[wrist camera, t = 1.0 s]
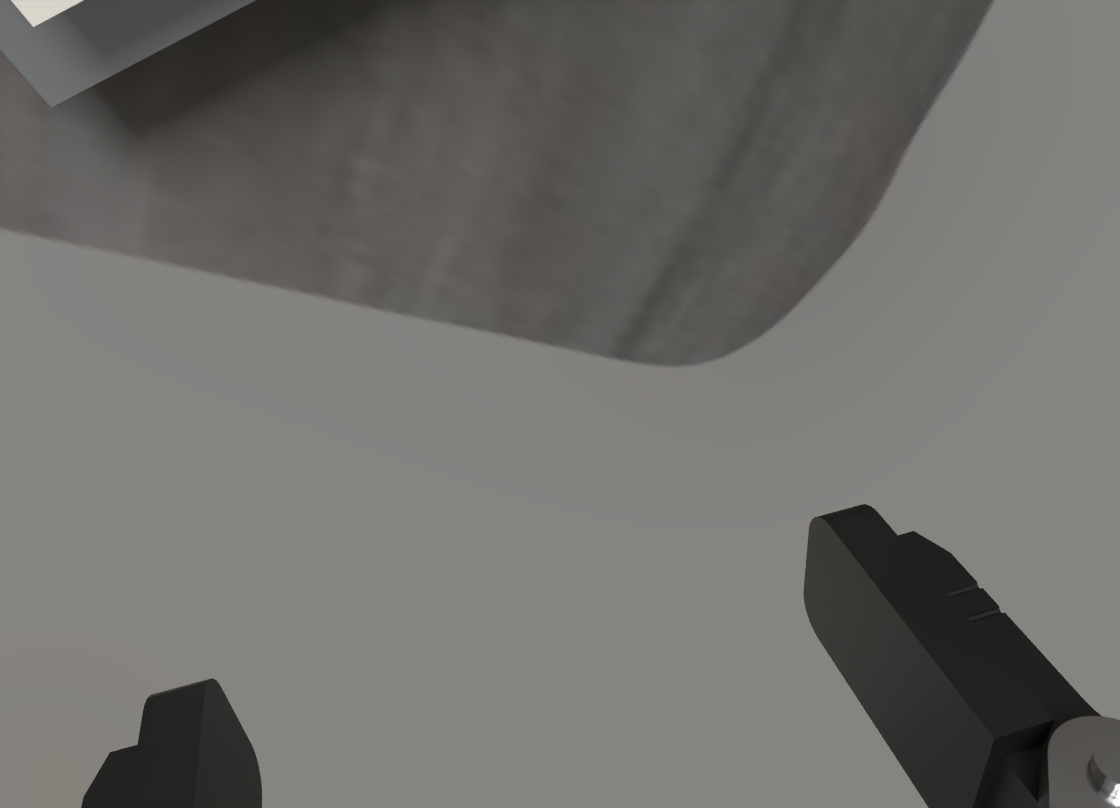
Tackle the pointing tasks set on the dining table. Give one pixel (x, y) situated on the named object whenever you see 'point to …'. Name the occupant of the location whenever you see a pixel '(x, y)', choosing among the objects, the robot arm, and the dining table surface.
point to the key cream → (42, 9)
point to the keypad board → (99, 39)
